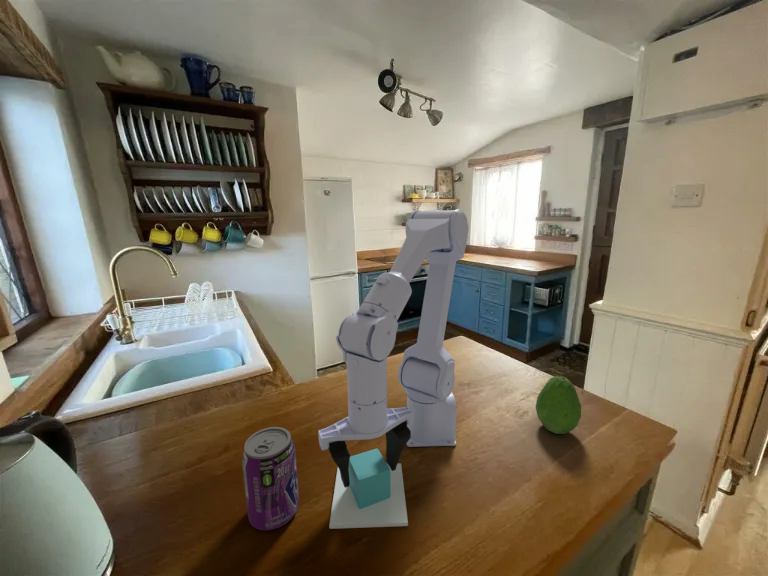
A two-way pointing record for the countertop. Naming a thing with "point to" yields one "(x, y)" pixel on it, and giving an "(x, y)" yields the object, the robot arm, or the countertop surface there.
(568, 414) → the avocado
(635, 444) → the countertop surface
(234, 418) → the countertop surface
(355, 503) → the plate
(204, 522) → the countertop surface
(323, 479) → the countertop surface
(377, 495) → the cube
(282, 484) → the beverage can
